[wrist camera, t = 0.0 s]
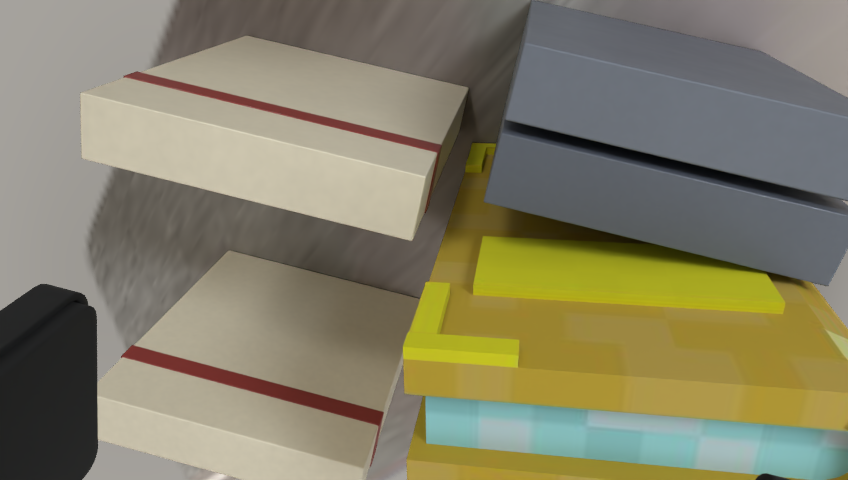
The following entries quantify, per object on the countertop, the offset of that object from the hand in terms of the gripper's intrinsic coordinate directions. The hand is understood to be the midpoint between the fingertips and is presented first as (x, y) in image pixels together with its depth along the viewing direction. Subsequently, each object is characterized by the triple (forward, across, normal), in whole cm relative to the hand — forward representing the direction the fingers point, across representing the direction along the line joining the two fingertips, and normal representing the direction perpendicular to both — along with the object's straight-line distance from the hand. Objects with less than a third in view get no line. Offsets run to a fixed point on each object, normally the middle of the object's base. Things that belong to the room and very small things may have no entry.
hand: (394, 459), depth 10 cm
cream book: (+37, +10, +4) cm, 38 cm away
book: (+37, -8, +8) cm, 39 cm away
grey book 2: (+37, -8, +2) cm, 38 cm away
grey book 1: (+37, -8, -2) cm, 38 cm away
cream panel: (+37, +10, +20) cm, 43 cm away
